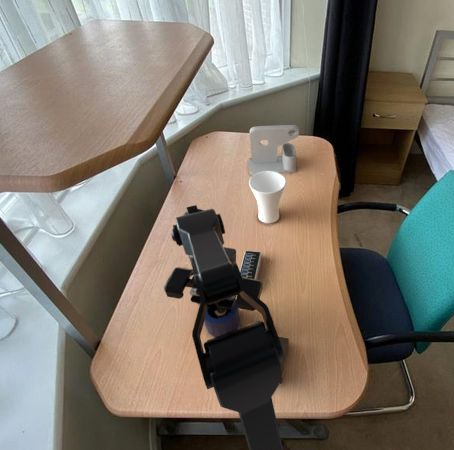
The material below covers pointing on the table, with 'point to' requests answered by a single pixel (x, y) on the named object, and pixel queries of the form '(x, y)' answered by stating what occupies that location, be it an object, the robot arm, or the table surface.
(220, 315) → the brush
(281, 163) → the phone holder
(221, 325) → the blue hollow cylinder
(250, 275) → the multiport hub
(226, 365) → the robot arm
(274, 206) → the cup
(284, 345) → the brush stand
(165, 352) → the table surface
